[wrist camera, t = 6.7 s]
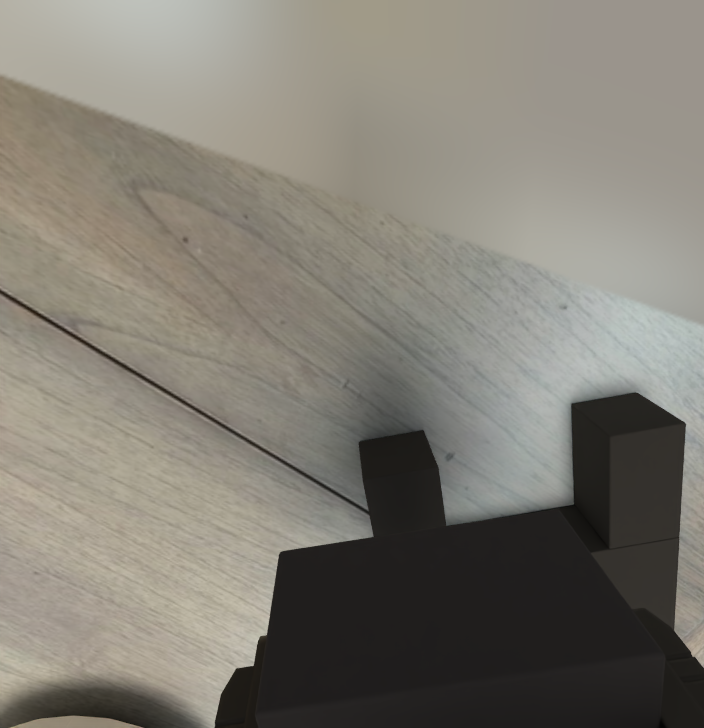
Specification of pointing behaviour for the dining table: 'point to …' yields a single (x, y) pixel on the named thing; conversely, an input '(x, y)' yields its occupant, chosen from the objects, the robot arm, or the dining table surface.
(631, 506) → the socket pad
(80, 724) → the pot lid
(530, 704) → the pad
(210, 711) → the dining table surface
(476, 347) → the dining table surface
